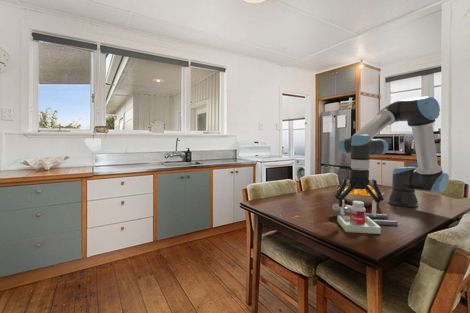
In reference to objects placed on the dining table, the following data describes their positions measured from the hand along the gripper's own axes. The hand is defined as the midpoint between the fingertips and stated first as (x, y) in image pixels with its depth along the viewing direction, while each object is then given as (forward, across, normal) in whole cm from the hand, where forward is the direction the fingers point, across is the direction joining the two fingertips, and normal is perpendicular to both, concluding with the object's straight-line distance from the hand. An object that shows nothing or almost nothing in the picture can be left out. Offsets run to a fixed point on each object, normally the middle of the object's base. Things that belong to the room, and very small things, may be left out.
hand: (357, 214), depth 109 cm
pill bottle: (+5, 0, 0) cm, 5 cm away
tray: (+6, 0, 0) cm, 6 cm away
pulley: (+6, +3, -13) cm, 15 cm away
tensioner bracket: (+6, -14, -10) cm, 18 cm away
